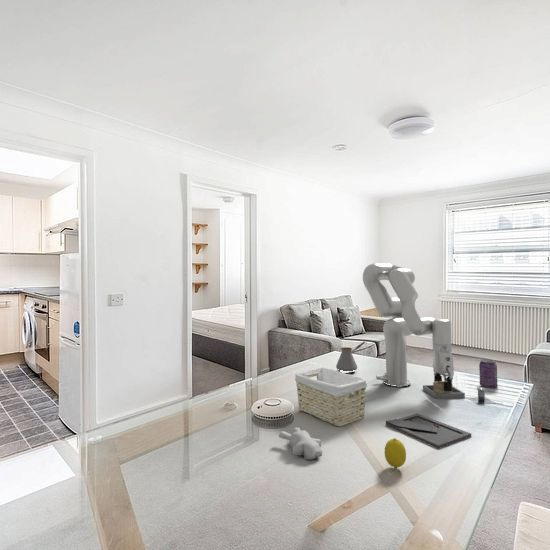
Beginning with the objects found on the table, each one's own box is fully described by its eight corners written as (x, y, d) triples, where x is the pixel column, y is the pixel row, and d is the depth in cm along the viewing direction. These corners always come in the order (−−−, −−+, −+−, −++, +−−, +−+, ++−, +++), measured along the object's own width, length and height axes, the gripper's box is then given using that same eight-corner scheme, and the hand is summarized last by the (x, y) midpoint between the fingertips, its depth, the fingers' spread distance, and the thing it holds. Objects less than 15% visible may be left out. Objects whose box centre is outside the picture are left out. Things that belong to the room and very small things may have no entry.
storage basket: (369, 419, 135) (368, 378, 135) (338, 430, 125) (337, 386, 125) (324, 402, 154) (323, 366, 154) (293, 410, 145) (293, 372, 145)
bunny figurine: (302, 451, 102) (275, 426, 115) (302, 468, 102) (275, 442, 115) (330, 443, 107) (301, 420, 120) (329, 460, 107) (300, 435, 120)
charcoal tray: (435, 399, 154) (435, 393, 154) (422, 390, 167) (422, 385, 167) (464, 399, 154) (464, 393, 154) (450, 390, 167) (450, 384, 167)
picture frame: (385, 426, 129) (438, 450, 110) (385, 421, 129) (438, 444, 110) (417, 417, 137) (471, 438, 118) (417, 412, 137) (471, 432, 118)
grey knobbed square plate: (477, 405, 147) (476, 391, 147) (466, 398, 155) (466, 385, 155) (497, 404, 147) (496, 391, 147) (485, 398, 155) (485, 385, 155)
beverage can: (492, 384, 174) (492, 359, 174) (500, 389, 167) (499, 362, 167) (477, 384, 175) (476, 359, 175) (484, 388, 168) (483, 362, 168)
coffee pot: (347, 375, 195) (346, 347, 195) (331, 371, 204) (331, 344, 204) (374, 369, 207) (373, 342, 207) (358, 365, 216) (357, 340, 216)
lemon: (381, 463, 102) (381, 434, 102) (401, 462, 102) (400, 433, 103) (389, 474, 96) (388, 443, 97) (410, 473, 97) (409, 442, 97)
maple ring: (438, 396, 157) (438, 385, 157) (431, 391, 164) (431, 380, 164) (454, 395, 157) (454, 385, 157) (446, 390, 164) (446, 380, 164)
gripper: (461, 351, 152) (462, 394, 152) (441, 344, 170) (442, 382, 169) (442, 351, 152) (443, 394, 152) (425, 344, 169) (425, 382, 169)
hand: (442, 387), depth 161 cm, fingers open, 8 cm apart
